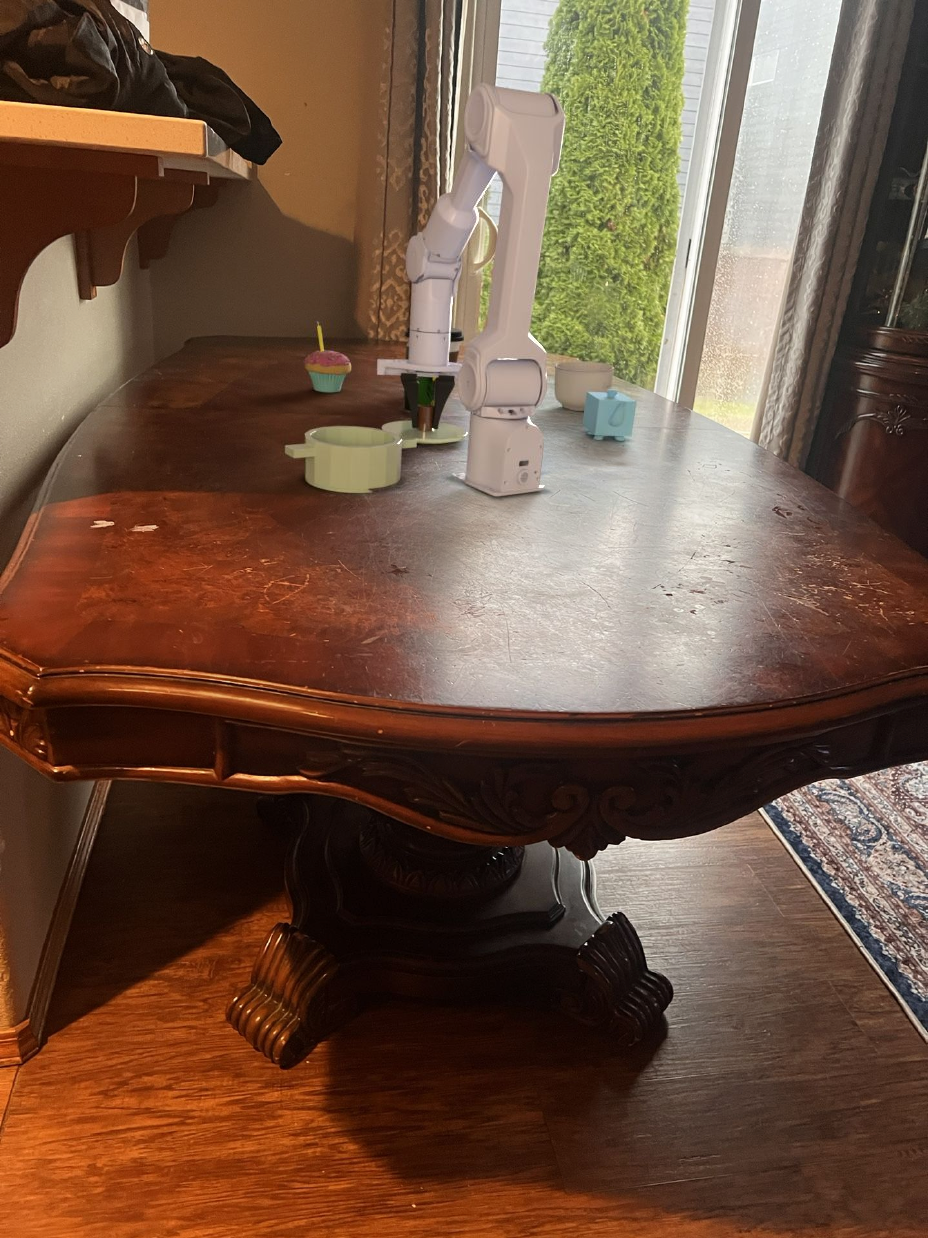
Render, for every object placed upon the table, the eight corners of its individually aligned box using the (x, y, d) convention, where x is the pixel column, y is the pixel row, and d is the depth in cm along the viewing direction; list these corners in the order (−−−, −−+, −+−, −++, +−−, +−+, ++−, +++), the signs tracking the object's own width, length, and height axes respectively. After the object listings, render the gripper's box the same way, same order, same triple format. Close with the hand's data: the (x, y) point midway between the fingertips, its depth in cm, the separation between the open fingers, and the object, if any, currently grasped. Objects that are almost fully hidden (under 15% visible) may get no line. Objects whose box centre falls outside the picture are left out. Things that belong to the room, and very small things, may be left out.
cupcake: (297, 391, 162) (297, 321, 157) (312, 384, 169) (313, 317, 165) (343, 396, 161) (345, 326, 156) (356, 388, 168) (358, 322, 164)
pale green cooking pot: (435, 484, 111) (438, 441, 109) (312, 499, 102) (312, 453, 100) (386, 462, 120) (388, 422, 118) (268, 474, 110) (267, 430, 108)
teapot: (637, 447, 140) (645, 398, 137) (600, 445, 139) (607, 396, 135) (613, 430, 150) (620, 384, 147) (579, 428, 149) (584, 383, 146)
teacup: (612, 416, 162) (618, 370, 159) (552, 411, 162) (557, 366, 158) (602, 402, 175) (608, 360, 171) (547, 398, 174) (551, 355, 171)
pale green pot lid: (483, 443, 131) (486, 411, 129) (411, 449, 124) (413, 416, 122) (435, 425, 140) (437, 395, 138) (365, 430, 133) (366, 399, 131)
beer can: (404, 416, 148) (407, 341, 144) (401, 409, 153) (405, 336, 148) (436, 417, 149) (440, 343, 144) (433, 411, 154) (437, 338, 149)
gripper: (477, 330, 130) (470, 423, 136) (377, 324, 128) (374, 419, 134) (483, 336, 124) (476, 434, 129) (378, 329, 122) (375, 429, 127)
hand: (424, 427), depth 131 cm, fingers closed on pale green pot lid, 2 cm apart
